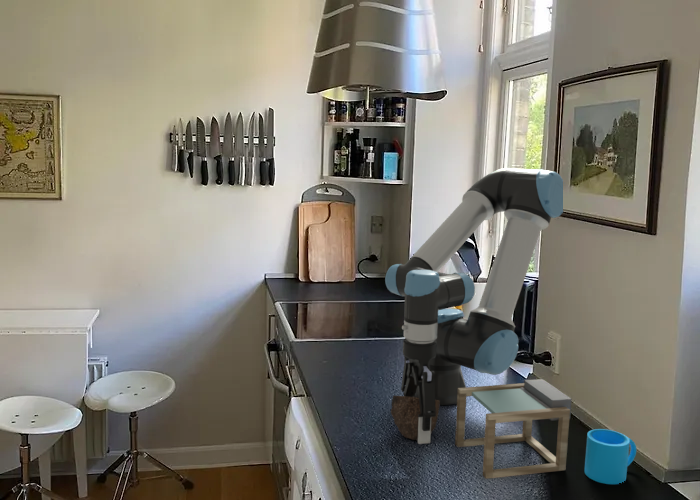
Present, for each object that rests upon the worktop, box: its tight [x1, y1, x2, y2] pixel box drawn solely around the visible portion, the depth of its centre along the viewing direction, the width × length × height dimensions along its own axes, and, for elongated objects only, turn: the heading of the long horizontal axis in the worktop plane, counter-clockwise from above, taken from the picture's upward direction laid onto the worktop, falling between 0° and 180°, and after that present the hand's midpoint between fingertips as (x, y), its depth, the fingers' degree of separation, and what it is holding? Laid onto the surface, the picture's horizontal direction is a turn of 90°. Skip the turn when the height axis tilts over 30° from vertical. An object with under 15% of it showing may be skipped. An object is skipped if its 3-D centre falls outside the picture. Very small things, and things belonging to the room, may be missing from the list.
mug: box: [584, 428, 637, 485], centre depth 142 cm, size 12×8×8 cm
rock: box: [390, 395, 441, 441], centre depth 157 cm, size 12×10×10 cm
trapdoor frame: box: [454, 382, 571, 479], centre depth 148 cm, size 16×18×13 cm
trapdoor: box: [471, 378, 573, 422], centre depth 147 cm, size 12×17×4 cm
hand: (416, 433), depth 158 cm, fingers closed on rock, 9 cm apart
